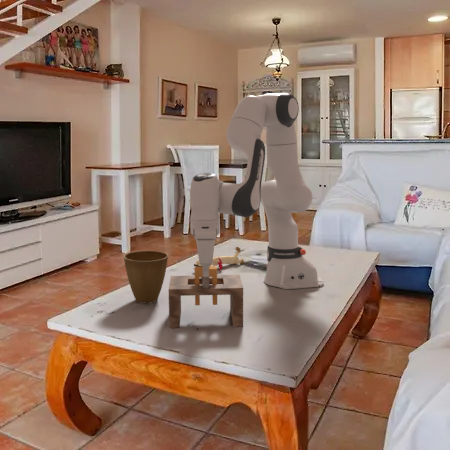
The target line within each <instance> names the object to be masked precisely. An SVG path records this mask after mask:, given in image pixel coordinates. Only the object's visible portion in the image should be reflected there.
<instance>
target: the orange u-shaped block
mask: <svg viewBox="0 0 450 450" xmlns="http://www.w3.org/2000/svg"><path fill="white" fill-rule="evenodd" d="M194 268H195V269H194V276H195V285H199V277H203V268H202V267H196V266H194ZM217 275H218V265H217V266H209V276H208V277H212V284H211V285H218V284H217ZM200 297H201V295H194V306H201V304H200V303H201V298H200ZM211 297H212V299H211V300H212V305H213V306H218V295H211Z"/></svg>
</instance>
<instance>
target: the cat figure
mask: <svg viewBox="0 0 450 450" xmlns="http://www.w3.org/2000/svg"><path fill="white" fill-rule="evenodd" d="M234 249H235V251H236V252H235V254H234V255H230V256H229V255H223V256H213V262H212V265H209V266H217V268H218V271H221V270H222V269H223V268H224V267H223V265H225V264H227V265H236V264H237V265H238V264H241V265H243V263H244V264H245V261H244V259H245V258H243V257H240V259H239V255H240V254H241V252H242V250H241V248H240V247H239V246H235V248H234ZM193 267H194V268H193V270H195V267H202V265H200V263H199V259H197V260H196V261H195V263H194V264H193Z"/></svg>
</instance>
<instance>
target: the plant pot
mask: <svg viewBox="0 0 450 450" xmlns="http://www.w3.org/2000/svg"><path fill="white" fill-rule="evenodd" d="M168 259H169V254H168V253H166V252H163V251H158V250H136V251H131V252H127V253H125V254H124V255H123V261H124V266H125V267H124V268H125V272H126V276H127V280H128V284H129V286H130V289H131V292H132V295H133V297H134V299H135V301H136V302H137V303H140V304H152V303H153V304H154V303H155V302H157V301H158V299H159V296H160V293H161V291H162V287H163V285H164V284H163V283H164V281H165V276H166V271H167V265H168Z"/></svg>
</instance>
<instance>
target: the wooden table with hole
mask: <svg viewBox="0 0 450 450" xmlns="http://www.w3.org/2000/svg"><path fill="white" fill-rule="evenodd" d="M168 285H169V286H168V322H169V325H168V326H169V329H180V327H181V319H182V318H181V316H182V299H181V298H182V296H183V297H184V296H195V295H200V296H212V295H217V296H222V295H223V296H228V295H229V296H230V297H229V299H230V301H229V303H230V304H229V305H230V317H231V320H232V321H231V322H232V327H235V328H237V327H244V285H243V282H242V279H241V275H240V274H217V285H212V277H199V285H195V275H170V279H169V284H168Z"/></svg>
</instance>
